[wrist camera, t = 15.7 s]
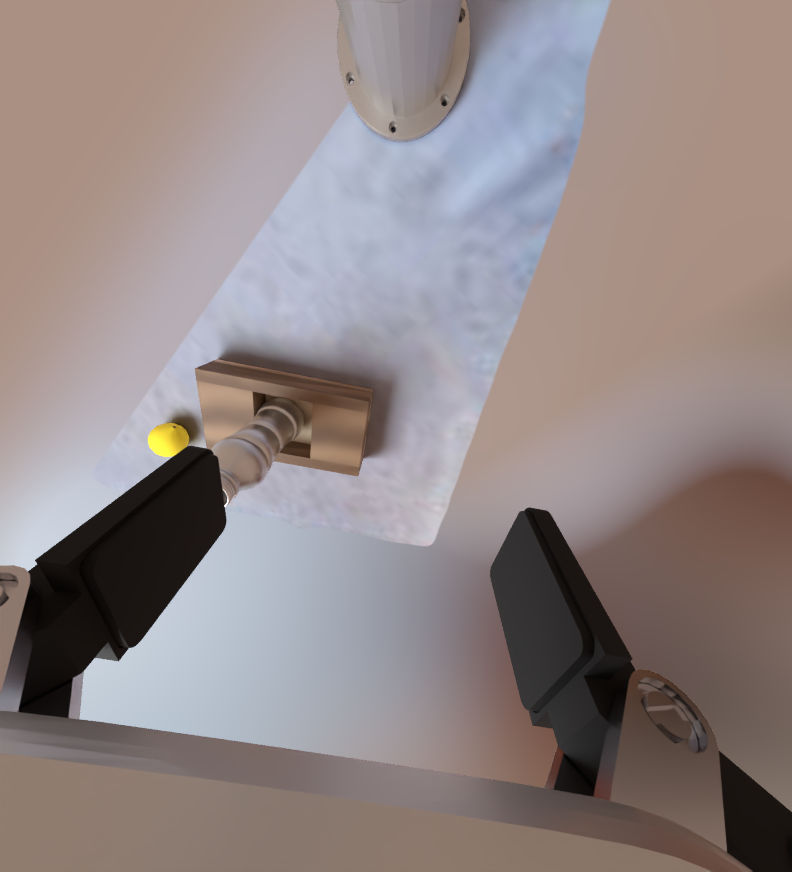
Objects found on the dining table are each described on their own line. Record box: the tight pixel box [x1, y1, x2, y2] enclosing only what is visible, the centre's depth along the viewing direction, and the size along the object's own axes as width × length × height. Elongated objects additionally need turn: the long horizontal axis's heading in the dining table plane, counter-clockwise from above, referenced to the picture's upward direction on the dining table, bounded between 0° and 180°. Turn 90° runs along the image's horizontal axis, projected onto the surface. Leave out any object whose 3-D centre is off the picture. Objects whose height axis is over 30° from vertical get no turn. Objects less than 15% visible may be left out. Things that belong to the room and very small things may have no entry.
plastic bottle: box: [211, 398, 304, 506], centre depth 38 cm, size 6×7×20 cm
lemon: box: [148, 423, 189, 457], centre depth 49 cm, size 7×5×5 cm
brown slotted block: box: [195, 359, 374, 476], centre depth 46 cm, size 13×24×5 cm, turn 80°
